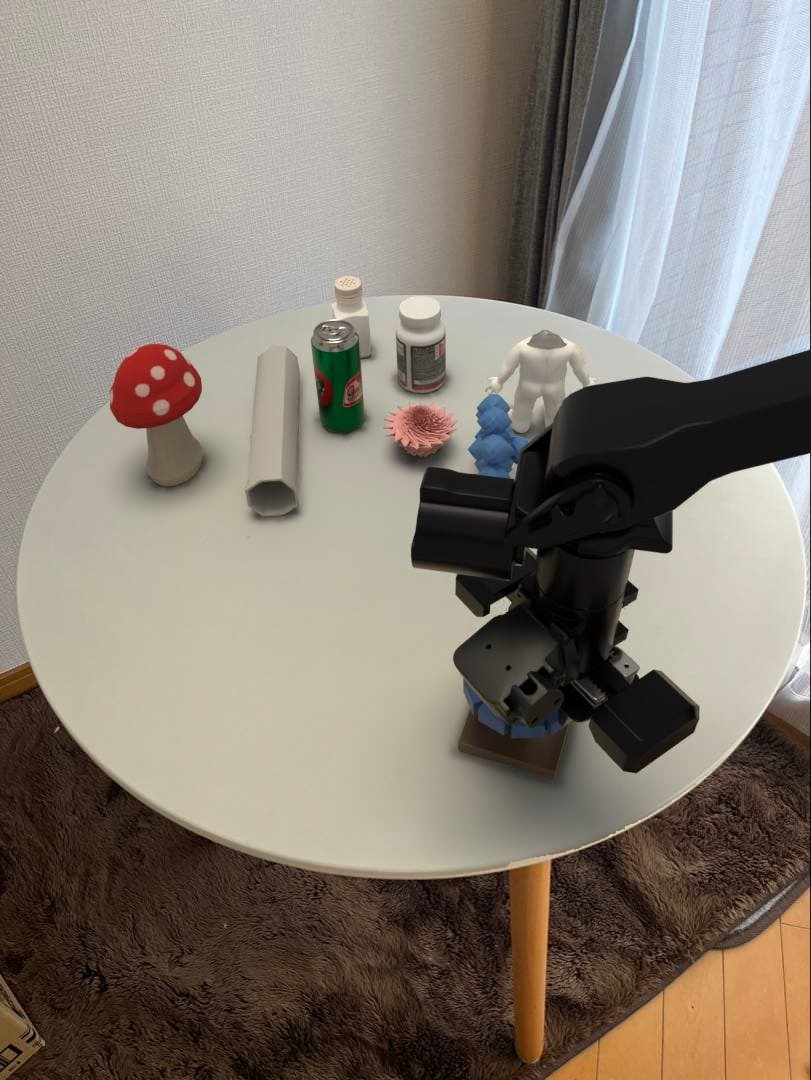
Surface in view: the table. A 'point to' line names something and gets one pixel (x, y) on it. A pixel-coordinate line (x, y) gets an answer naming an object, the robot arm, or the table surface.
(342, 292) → the pepper shaker
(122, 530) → the table surface
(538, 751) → the post
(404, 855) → the table surface
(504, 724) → the ring
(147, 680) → the table surface
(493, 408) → the grapes
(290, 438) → the tube
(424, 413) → the flower
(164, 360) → the decorative mushroom
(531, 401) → the toy creature
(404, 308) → the pill bottle
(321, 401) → the soda can
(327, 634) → the table surface
